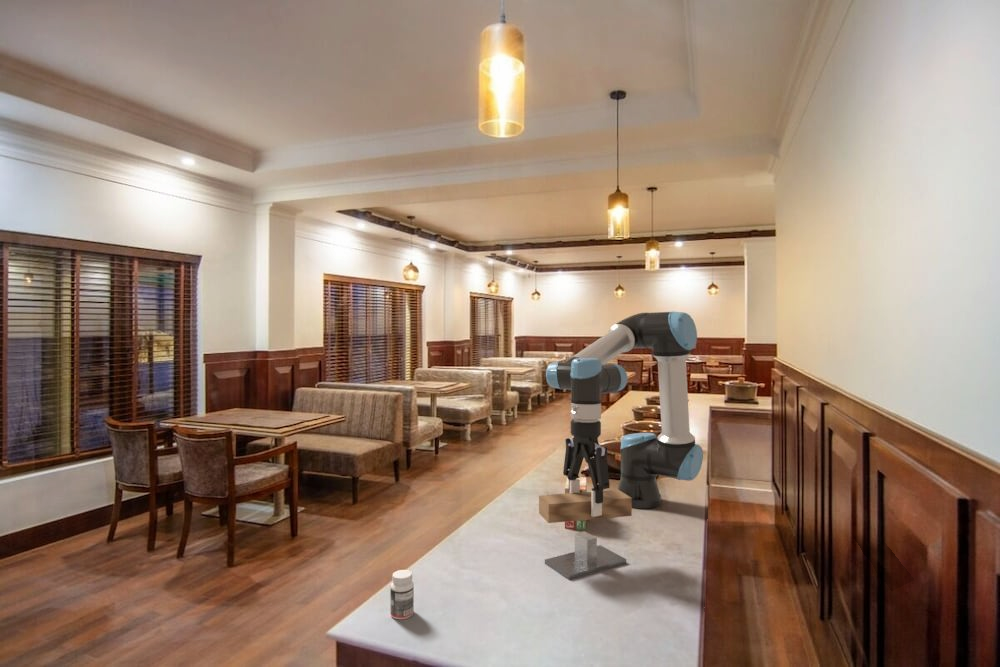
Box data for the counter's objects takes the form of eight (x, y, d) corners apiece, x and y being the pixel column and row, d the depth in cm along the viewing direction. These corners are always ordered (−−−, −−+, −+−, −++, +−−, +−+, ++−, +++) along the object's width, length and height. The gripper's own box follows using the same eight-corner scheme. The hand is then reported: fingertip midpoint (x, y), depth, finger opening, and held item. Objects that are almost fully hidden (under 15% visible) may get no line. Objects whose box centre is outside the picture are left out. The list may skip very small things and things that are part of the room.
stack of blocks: (568, 505, 177) (568, 468, 177) (586, 506, 176) (586, 469, 176) (564, 529, 156) (564, 487, 156) (586, 530, 155) (586, 488, 155)
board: (618, 506, 139) (618, 489, 139) (631, 515, 132) (631, 497, 132) (538, 513, 133) (539, 495, 133) (548, 523, 126) (548, 504, 126)
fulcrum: (600, 548, 142) (600, 522, 142) (626, 563, 133) (626, 535, 133) (544, 563, 133) (544, 535, 133) (568, 579, 124) (568, 550, 124)
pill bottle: (391, 608, 111) (391, 568, 111) (414, 607, 112) (414, 568, 112) (389, 620, 107) (389, 579, 107) (412, 619, 107) (412, 578, 107)
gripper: (549, 415, 140) (549, 501, 140) (601, 427, 122) (600, 526, 122) (572, 413, 144) (571, 496, 144) (626, 424, 125) (625, 520, 125)
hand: (585, 510), depth 133 cm, fingers closed on board, 8 cm apart
